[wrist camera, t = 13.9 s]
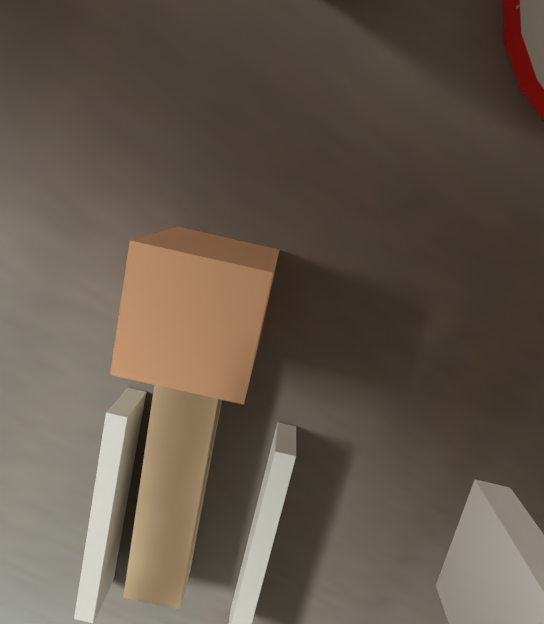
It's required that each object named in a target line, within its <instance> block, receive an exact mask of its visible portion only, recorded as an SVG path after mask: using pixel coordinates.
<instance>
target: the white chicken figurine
mask: <svg viewBox="0 0 544 624" xmlns="http://www.w3.org/2000/svg"><path fill="white" fill-rule="evenodd" d="M502 2H503V22H504V42H505V46H506V49H507V52H508V55H509V58H510V61H511V64H512V67H513V70H514V72H515V75H516V78H517V81H518V84H519V87H520V89H521V91H522V92H523V93H524V95H525V96H526V97H527V99H528V100H529V101H530V103H531V104H532V105H533V107H534V108H535V109H536V111H537V112H538V113H539V115H540V116H541V117H542V119H543V120H544V0H502Z"/></svg>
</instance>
